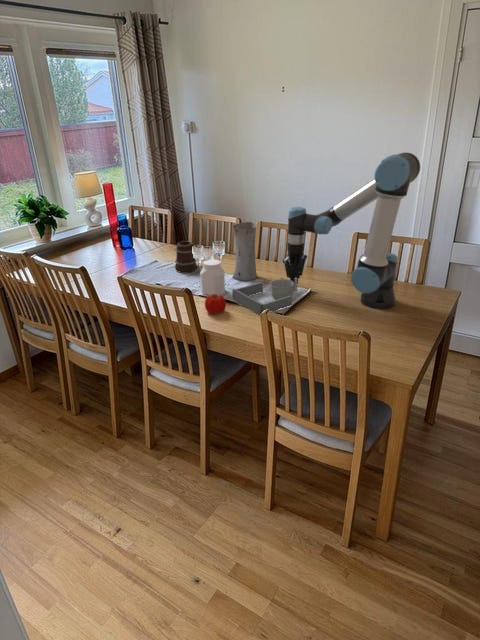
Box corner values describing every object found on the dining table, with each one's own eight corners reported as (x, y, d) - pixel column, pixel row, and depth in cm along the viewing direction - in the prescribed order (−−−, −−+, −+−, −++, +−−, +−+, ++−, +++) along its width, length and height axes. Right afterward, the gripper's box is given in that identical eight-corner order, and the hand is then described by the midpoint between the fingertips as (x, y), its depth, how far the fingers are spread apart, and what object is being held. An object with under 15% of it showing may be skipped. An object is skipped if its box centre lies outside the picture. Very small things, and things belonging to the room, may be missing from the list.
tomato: (201, 312, 194) (200, 296, 190) (216, 306, 199) (216, 290, 196) (215, 318, 188) (215, 302, 184) (230, 312, 193) (230, 296, 190)
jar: (228, 290, 216) (227, 260, 209) (219, 297, 208) (217, 267, 202) (208, 286, 221) (206, 257, 214) (198, 293, 213) (196, 263, 206)
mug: (189, 274, 237) (187, 247, 231) (171, 270, 243) (168, 244, 236) (204, 265, 250) (203, 239, 243) (187, 262, 255) (185, 237, 248)
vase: (229, 281, 227) (227, 228, 214) (237, 271, 239) (236, 221, 226) (253, 284, 224) (253, 230, 211) (260, 274, 235) (260, 222, 222)
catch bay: (291, 306, 197) (291, 295, 195) (261, 316, 189) (261, 304, 186) (261, 291, 214) (261, 281, 211) (232, 299, 205) (232, 289, 203)
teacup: (291, 304, 199) (292, 287, 196) (268, 302, 202) (268, 286, 198) (295, 292, 211) (296, 277, 208) (273, 290, 214) (273, 275, 210)
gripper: (301, 238, 205) (299, 285, 216) (279, 243, 199) (278, 291, 209) (312, 241, 199) (309, 289, 210) (290, 247, 193) (288, 296, 204)
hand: (293, 290), depth 210 cm, fingers closed
